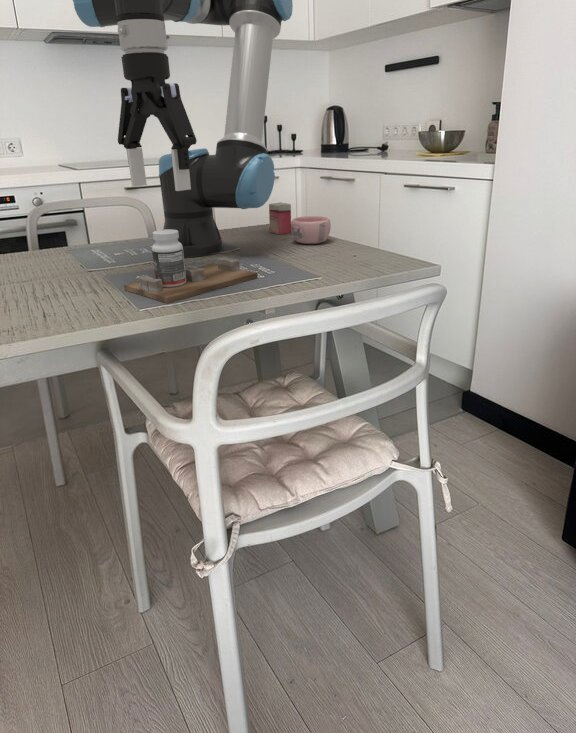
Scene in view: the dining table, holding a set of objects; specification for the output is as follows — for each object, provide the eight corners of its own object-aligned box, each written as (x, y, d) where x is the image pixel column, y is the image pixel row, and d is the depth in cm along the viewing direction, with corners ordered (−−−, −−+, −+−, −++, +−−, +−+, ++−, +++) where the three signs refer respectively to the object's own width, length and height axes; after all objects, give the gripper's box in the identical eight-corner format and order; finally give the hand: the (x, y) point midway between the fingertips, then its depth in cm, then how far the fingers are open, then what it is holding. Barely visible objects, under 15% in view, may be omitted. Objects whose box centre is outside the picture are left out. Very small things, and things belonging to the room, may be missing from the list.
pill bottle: (158, 281, 112) (151, 229, 108) (187, 279, 112) (182, 228, 108) (154, 288, 107) (147, 235, 103) (185, 287, 107) (179, 233, 103)
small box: (269, 232, 161) (268, 203, 158) (281, 230, 164) (281, 202, 160) (279, 235, 158) (278, 205, 154) (292, 233, 160) (291, 203, 157)
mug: (338, 242, 146) (338, 218, 144) (309, 248, 140) (308, 223, 138) (308, 236, 155) (307, 213, 152) (278, 241, 149) (278, 218, 147)
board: (124, 290, 110) (122, 274, 109) (213, 267, 125) (212, 254, 124) (167, 303, 101) (165, 286, 100) (257, 277, 116) (256, 263, 115)
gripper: (85, 58, 100) (105, 186, 108) (170, 43, 83) (185, 194, 92) (123, 60, 104) (139, 182, 113) (210, 46, 88) (221, 189, 97)
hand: (160, 188), depth 103 cm, fingers open, 13 cm apart
